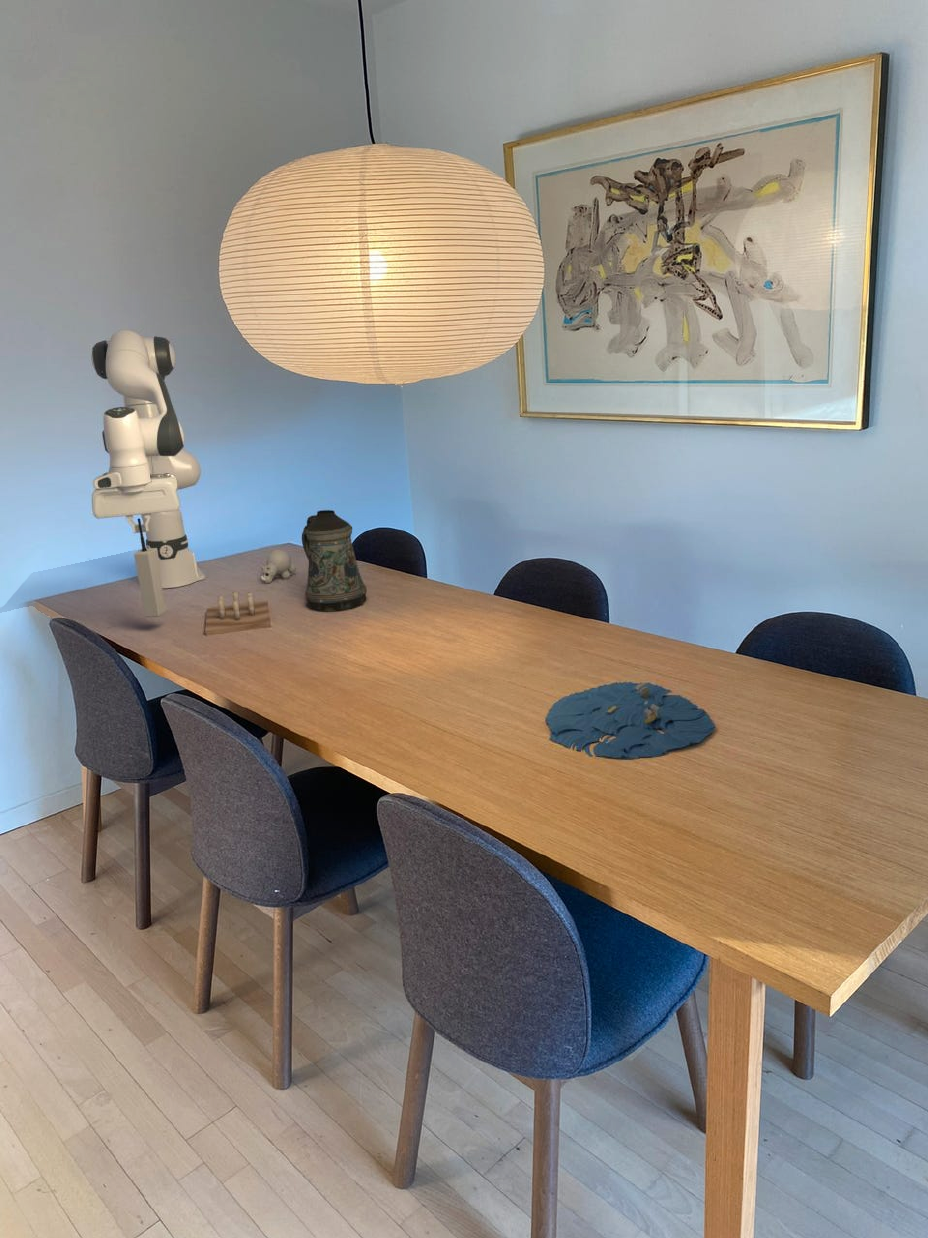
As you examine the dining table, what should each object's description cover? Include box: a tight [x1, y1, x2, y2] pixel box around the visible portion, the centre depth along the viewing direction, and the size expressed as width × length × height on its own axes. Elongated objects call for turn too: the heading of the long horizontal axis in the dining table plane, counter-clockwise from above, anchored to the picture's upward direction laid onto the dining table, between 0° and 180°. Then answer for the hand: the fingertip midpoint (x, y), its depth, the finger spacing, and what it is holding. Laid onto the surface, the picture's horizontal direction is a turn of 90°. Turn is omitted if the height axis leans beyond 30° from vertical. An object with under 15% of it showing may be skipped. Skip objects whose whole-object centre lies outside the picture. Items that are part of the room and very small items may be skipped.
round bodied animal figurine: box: [259, 549, 297, 585], centre depth 267 cm, size 7×12×8 cm, turn 145°
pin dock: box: [204, 591, 272, 636], centre depth 232 cm, size 20×16×6 cm
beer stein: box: [301, 509, 368, 613], centre depth 238 cm, size 16×19×25 cm
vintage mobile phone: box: [133, 518, 169, 618], centre depth 223 cm, size 4×5×25 cm
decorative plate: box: [544, 681, 716, 760], centre depth 160 cm, size 30×30×5 cm
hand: (141, 532), depth 221 cm, fingers closed on vintage mobile phone
